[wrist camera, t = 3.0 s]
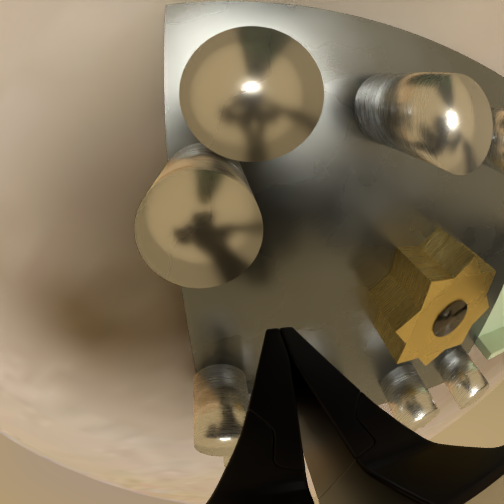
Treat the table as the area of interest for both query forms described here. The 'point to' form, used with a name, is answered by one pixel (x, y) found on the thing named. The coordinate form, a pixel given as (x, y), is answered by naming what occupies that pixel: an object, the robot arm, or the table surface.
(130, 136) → the table surface
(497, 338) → the tray
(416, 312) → the gear
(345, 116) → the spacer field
